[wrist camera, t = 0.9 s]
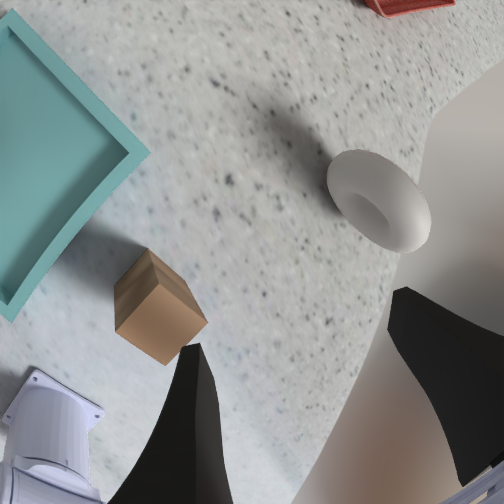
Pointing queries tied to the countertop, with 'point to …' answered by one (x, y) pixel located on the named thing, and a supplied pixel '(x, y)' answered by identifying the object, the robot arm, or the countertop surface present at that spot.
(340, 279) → the countertop surface
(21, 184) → the tray
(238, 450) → the countertop surface
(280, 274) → the countertop surface
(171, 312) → the block
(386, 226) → the donut
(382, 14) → the plant saucer
